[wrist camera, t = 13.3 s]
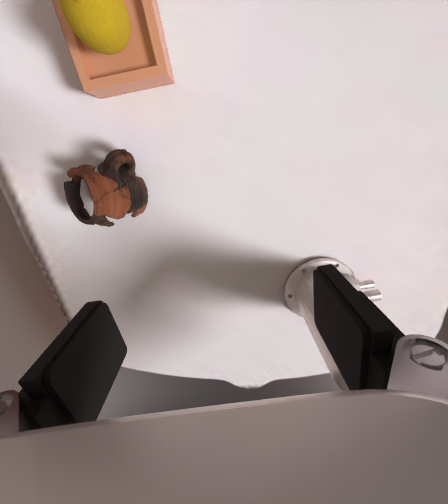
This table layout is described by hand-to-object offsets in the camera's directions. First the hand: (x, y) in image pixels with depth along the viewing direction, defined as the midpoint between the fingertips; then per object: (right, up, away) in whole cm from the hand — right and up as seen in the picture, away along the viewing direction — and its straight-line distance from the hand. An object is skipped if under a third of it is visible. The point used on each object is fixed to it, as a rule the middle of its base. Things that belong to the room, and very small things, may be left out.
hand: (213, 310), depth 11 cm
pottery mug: (-15, +13, +25) cm, 32 cm away
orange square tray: (-12, +28, +18) cm, 36 cm away
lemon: (-12, +27, +16) cm, 33 cm away
